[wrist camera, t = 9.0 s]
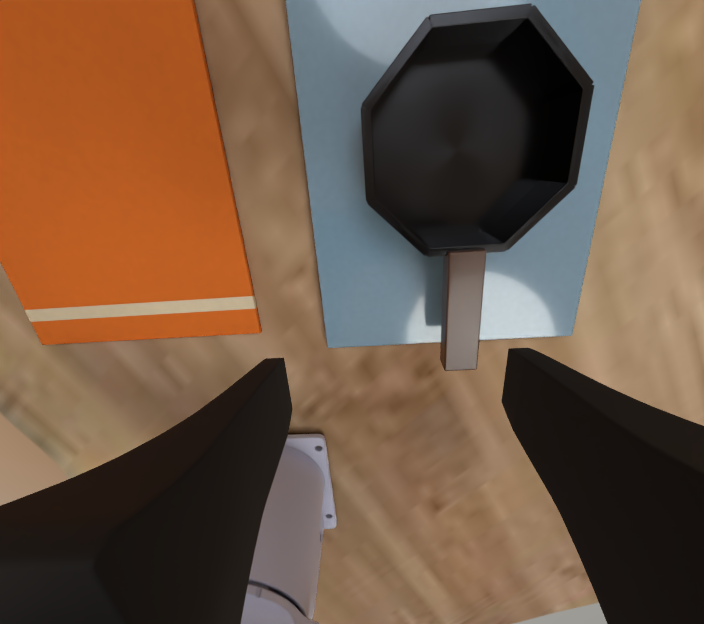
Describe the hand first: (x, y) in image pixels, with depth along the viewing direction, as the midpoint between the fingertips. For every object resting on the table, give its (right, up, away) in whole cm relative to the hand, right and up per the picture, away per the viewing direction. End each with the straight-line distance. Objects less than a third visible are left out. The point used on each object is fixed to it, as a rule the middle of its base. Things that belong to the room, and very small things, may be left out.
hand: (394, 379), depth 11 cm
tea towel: (-15, +10, +6) cm, 19 cm away
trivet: (+3, +9, +6) cm, 11 cm away
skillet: (+4, +7, +6) cm, 10 cm away
